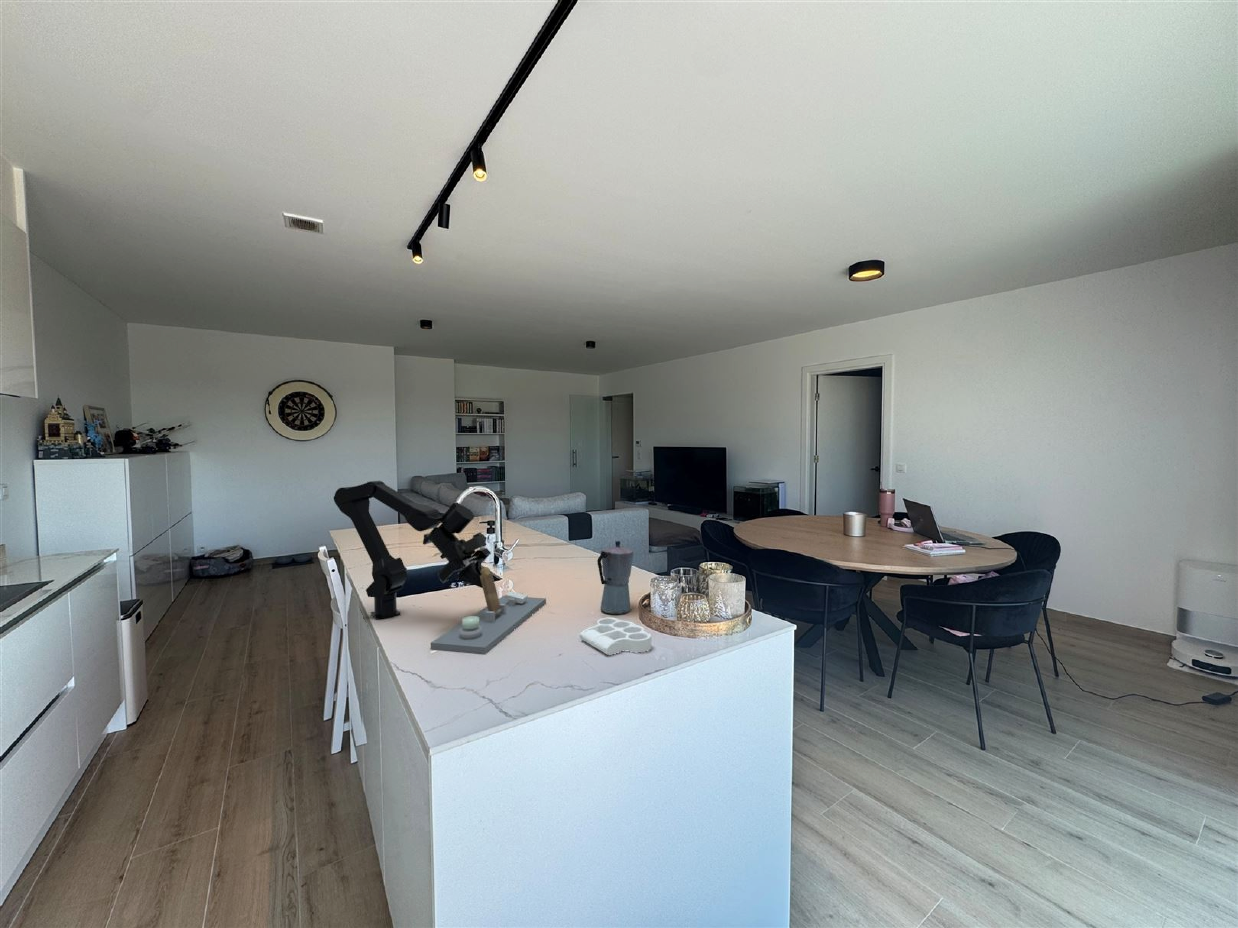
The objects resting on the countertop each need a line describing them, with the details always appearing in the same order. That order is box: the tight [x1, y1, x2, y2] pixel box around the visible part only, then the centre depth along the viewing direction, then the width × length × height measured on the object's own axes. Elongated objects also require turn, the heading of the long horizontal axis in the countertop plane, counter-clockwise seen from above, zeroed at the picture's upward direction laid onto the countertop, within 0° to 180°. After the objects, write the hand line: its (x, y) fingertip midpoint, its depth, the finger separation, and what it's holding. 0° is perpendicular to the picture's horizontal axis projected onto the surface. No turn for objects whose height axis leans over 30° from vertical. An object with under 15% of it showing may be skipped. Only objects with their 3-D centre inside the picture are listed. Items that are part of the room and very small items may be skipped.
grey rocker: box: [504, 590, 529, 604], centre depth 146 cm, size 6×4×1 cm, turn 77°
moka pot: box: [596, 540, 635, 615], centre depth 142 cm, size 10×15×20 cm, turn 148°
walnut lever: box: [480, 566, 502, 617], centre depth 133 cm, size 3×4×14 cm, turn 167°
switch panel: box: [430, 592, 547, 655], centre depth 133 cm, size 14×38×4 cm, turn 167°
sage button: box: [461, 615, 479, 629], centre depth 120 cm, size 4×4×2 cm
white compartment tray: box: [579, 616, 652, 656], centre depth 120 cm, size 3×18×15 cm
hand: (486, 587), depth 133 cm, fingers closed, pressing on walnut lever
